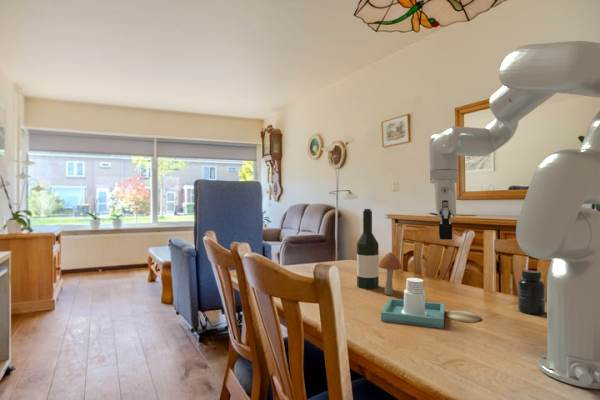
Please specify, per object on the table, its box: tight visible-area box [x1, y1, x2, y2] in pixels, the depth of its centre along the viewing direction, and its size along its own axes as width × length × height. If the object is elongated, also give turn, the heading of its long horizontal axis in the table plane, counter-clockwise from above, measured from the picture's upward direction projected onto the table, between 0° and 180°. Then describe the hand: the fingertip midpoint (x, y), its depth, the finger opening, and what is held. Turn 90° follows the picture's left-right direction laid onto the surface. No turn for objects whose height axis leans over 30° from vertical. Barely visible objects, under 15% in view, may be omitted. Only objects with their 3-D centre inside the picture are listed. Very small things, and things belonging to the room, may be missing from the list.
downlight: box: [401, 277, 427, 316], centre depth 106 cm, size 8×7×10 cm
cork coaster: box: [445, 310, 482, 323], centre depth 105 cm, size 9×9×1 cm
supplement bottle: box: [517, 269, 546, 316], centre depth 110 cm, size 7×7×12 cm
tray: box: [380, 297, 445, 329], centre depth 106 cm, size 16×16×2 cm
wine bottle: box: [356, 208, 380, 290], centre depth 144 cm, size 8×8×30 cm
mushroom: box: [379, 252, 403, 296], centre depth 131 cm, size 8×8×15 cm
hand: (445, 238), depth 104 cm, fingers open, 9 cm apart
